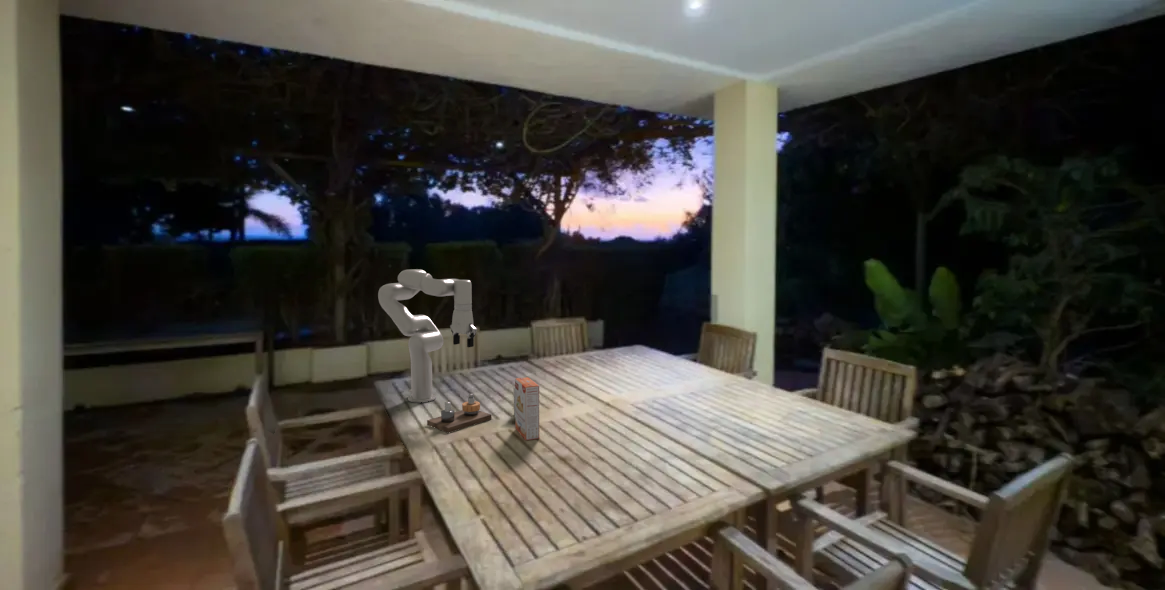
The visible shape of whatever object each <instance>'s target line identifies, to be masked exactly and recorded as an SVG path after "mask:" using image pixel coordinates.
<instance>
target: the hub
mask: <svg viewBox="0 0 1165 590" xmlns="http://www.w3.org/2000/svg"><path fill="white" fill-rule="evenodd" d="M474 401H475V397H474V393H469V394H468V397H467V402H468V405H474ZM479 411H480V410H478V411H474V412H466V411H464V415H465V416H475V415H478V414H479Z"/></svg>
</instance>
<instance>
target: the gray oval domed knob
mask: <svg viewBox="0 0 1165 590" xmlns="http://www.w3.org/2000/svg"><path fill="white" fill-rule="evenodd" d="M451 406H452V402H451V401H446V402H444V409H442V410H441V412H440V414H441V415H440V416H441V422H443V423H451V422H454V421H455V420H454V412H455V410H454V409H451V408H452V407H451Z"/></svg>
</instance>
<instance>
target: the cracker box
mask: <svg viewBox="0 0 1165 590" xmlns="http://www.w3.org/2000/svg"><path fill="white" fill-rule="evenodd" d="M514 387H515V416H514V417H515V419H514V420H515V430H516V431H517V432H518V433H519V434H520V436H522V438H523V439H524V441H531V440H538V439H540V385H539V384H537V383H536V382H535V381H534V380H532V379H531V378H530V377H518V378H517V377H516V378H514Z"/></svg>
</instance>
